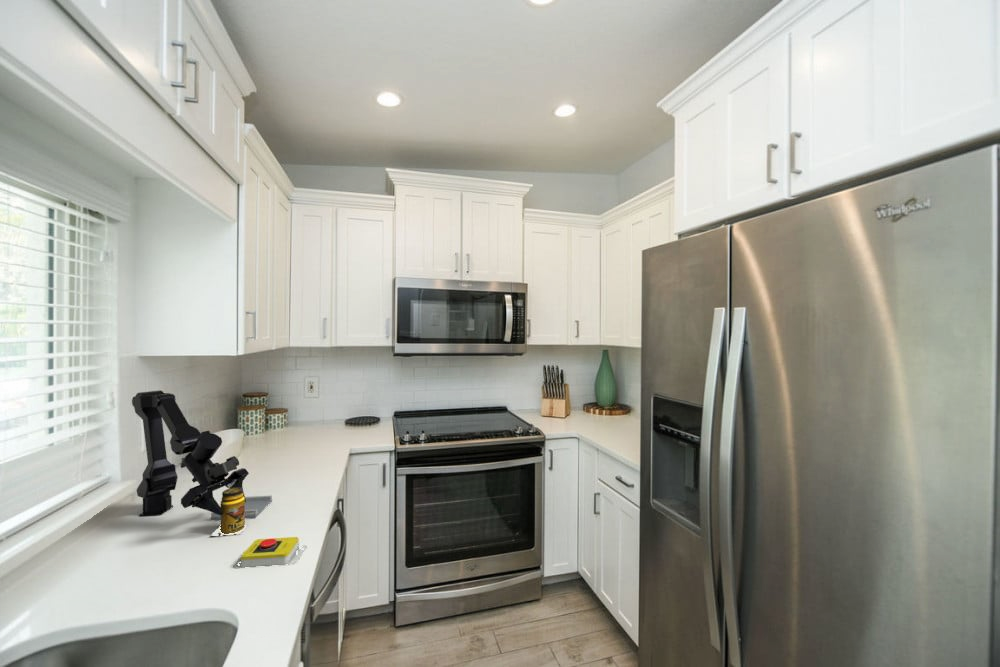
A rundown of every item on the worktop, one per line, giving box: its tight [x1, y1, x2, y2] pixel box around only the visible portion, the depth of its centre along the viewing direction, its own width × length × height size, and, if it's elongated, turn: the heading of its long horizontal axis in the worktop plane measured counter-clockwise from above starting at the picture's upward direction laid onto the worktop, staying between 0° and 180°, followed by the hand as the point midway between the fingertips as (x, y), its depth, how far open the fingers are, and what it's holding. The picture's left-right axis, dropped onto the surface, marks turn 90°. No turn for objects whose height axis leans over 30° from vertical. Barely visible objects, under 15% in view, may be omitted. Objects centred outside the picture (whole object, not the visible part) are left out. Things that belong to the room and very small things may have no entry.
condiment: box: [219, 487, 246, 534], centre depth 122 cm, size 7×8×12 cm
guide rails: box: [210, 494, 273, 518], centre depth 136 cm, size 13×12×1 cm
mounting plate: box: [210, 498, 273, 521], centre depth 136 cm, size 13×13×1 cm
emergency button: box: [233, 536, 308, 569], centre depth 108 cm, size 9×4×15 cm
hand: (233, 508), depth 122 cm, fingers open, 8 cm apart
